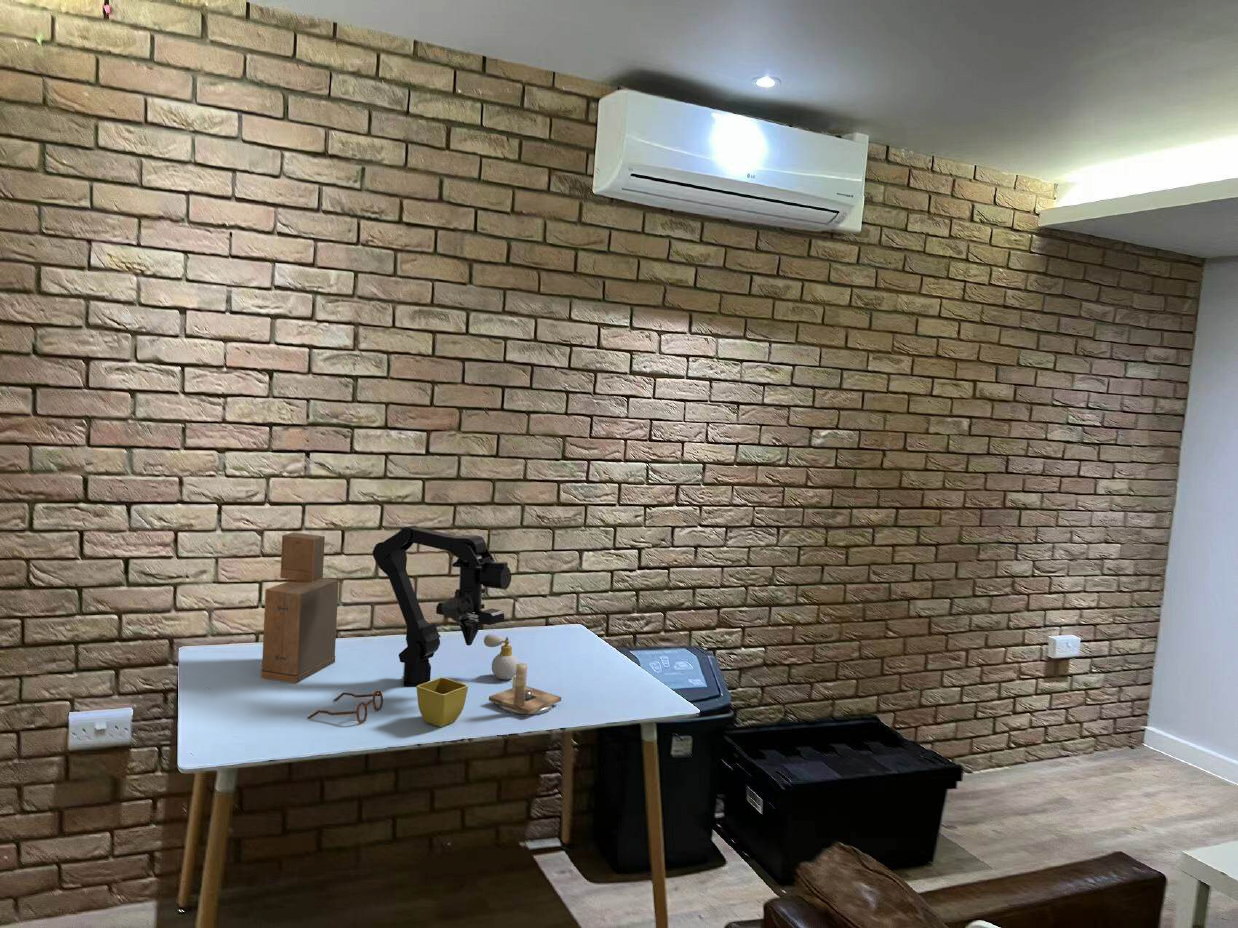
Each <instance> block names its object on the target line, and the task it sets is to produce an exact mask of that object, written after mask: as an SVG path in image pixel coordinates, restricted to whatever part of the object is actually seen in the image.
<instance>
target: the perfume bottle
mask: <svg viewBox="0 0 1238 928" xmlns="http://www.w3.org/2000/svg"><path fill="white" fill-rule="evenodd" d="M510 642H511V641H510V640H509V637H508V636H506V637H505V640H504V639H503V638H502V637H500V636H499V635H497V634H493V633H489V634H487V635H485V636H484V638H483V644H484V645H485V646H486V647H488V648H496V647H498V646H500V648H501V649H500V652H499V653H498V654H497V655H496V656H494V658H493V659H492V661H491V671H492V674H493V675H494V676H495V677H496V678H497V679H499V680H505V681H507V680H510V679H513V677H516V667H517V664H520V663H519V660H518V658H517V656H516V655H514V654H513V651H512V650H513V646H511V645H509V644H510ZM502 644H503V645H502Z"/></svg>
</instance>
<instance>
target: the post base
mask: <svg viewBox="0 0 1238 928" xmlns="http://www.w3.org/2000/svg"><path fill="white" fill-rule="evenodd" d="M515 681H516V676H514V677H513V678H512V685H511V686H512V688H514V687H515ZM531 696H532V691H530V690H525V701H529V700H531ZM496 705H498V706H497V707H499V708H501V709H502V710H501V709H500V710H501V711H503V710H504V711H503V712H505V711H506V712H505V713H507V712H508V714H511V713H513V714H512V715H516V714H517V715H516V716H537V715H538V716H539V715H543V714H546V713H549V712H550V711H551V710H552V709H553V707H554V704H552V705H550V706H548V707H545V708H543V709H540V710H538V711H535V712H533V713H531V714H527V713H524V712H521V711H518V710H515V709H512V708H509V707H506V706H503V705H500V704H497V703H496ZM499 708H498V709H499ZM549 710H550V711H549Z"/></svg>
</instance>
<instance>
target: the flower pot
mask: <svg viewBox="0 0 1238 928" xmlns="http://www.w3.org/2000/svg"><path fill="white" fill-rule="evenodd" d="M415 687H416V695H417V696H416V697H417V706H418V709H419V712H420V714H421V717H422V718H423V720H424V721H425V723H427V724H431V725H433V726H435V727H440V728H443V727H445V726H448V725H450V724H452V723H455V722H456V721H457V720H458V718H459V717H460V716H461V714H462V712H463V710H464V706H465V703H466V698H467V694H468V690H469V685H468V684H466V683H462V682H459V681H455V680H453V679H449V678H448V677H447V678H446V677H443V676H442V677H437V678H435V679H432V680H430V681H429V682H427V683H423V684H420V685H418V686H415Z"/></svg>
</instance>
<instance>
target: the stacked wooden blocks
mask: <svg viewBox="0 0 1238 928" xmlns="http://www.w3.org/2000/svg"><path fill="white" fill-rule="evenodd" d="M325 538H326V535H325V536H324V535H317V534H309V533H308V534H307V533H299V532H290V533H287V534H282V535H281V552H280V553H281V555H280V557H281V558H280V559H281V560H280V576H279V577H280V578H281V579H286V580H287V579H288V580H289V581H286V582H283V583H280V584H277V585H275V586H271V587H268V588H265V591H264V593H265V595H264V596H265V598H264V615H263V616H264V617H263V640H262V641H263V642H262V657H261V658H262V659H261V671H260V679H265V680H266V679H267V680H272V681H278V682H285V683H291V684H299V683H300V682H302V681H304V680H306V679H308V678H310V677H311V676H312V675H313V676H314V675H315V674H316V673H318V672H320V671H322V670H323V669H326V668H328V667H329V666H331V665H333V664H335V663H336V638H337V620H338V617H337V616H338V605H339V604H338V601H339V600H338V599H339V585H340V584H339V583H340V582H339V579H334V578H327V577H324V563H325V544H326V543H325V541H326V540H325Z"/></svg>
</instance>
